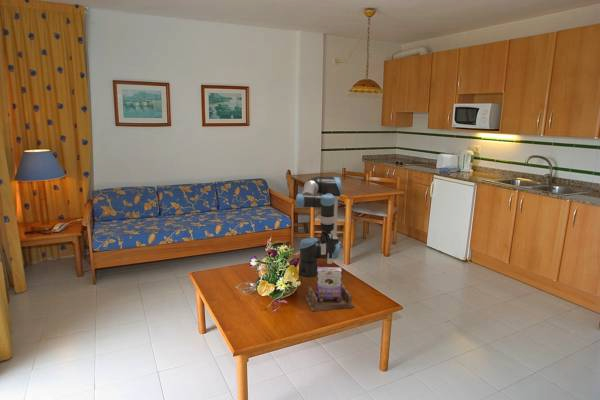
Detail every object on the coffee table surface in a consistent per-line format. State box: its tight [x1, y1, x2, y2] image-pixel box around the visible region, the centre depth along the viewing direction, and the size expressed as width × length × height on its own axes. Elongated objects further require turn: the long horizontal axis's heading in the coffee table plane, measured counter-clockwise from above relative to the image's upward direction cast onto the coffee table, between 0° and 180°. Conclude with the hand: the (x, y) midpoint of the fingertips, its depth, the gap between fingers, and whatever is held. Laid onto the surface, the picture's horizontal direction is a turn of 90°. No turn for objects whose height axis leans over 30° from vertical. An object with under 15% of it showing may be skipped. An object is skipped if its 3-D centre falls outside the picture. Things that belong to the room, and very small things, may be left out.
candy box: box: [316, 266, 343, 298], centre depth 223 cm, size 14×6×16 cm, turn 86°
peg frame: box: [304, 282, 355, 312], centre depth 224 cm, size 18×24×7 cm
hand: (326, 258), depth 225 cm, fingers open, 13 cm apart
